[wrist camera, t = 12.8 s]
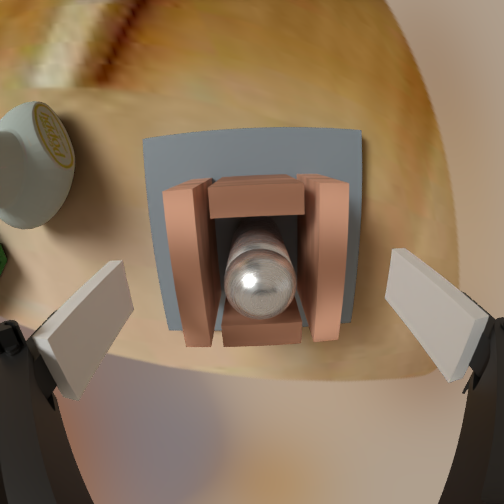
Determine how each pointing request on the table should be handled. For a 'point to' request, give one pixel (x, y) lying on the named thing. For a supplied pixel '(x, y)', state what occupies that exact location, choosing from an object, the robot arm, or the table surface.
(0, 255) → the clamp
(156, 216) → the post board
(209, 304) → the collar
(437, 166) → the table surface
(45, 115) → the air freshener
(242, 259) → the steel post
